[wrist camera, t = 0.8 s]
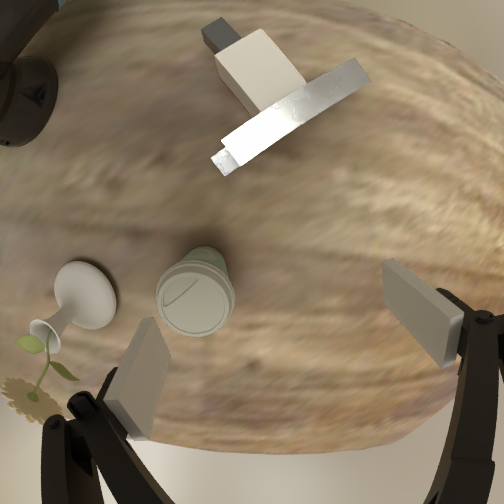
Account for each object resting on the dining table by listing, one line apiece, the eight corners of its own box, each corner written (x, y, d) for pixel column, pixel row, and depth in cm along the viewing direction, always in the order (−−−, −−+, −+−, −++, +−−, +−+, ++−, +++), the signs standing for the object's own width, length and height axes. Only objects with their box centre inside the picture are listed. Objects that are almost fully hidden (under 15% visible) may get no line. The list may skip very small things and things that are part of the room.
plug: (195, 48, 32) (185, 24, 24) (232, 25, 31) (231, -2, 23) (264, 133, 36) (271, 126, 28) (302, 109, 35) (317, 97, 27)
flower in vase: (49, 284, 40) (-46, 367, 16) (85, 242, 39) (-31, 323, 15) (100, 341, 44) (34, 450, 20) (141, 307, 42) (72, 433, 18)
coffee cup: (230, 231, 39) (227, 261, 28) (239, 290, 42) (240, 337, 30) (168, 240, 39) (142, 272, 28) (181, 297, 42) (163, 344, 30)
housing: (211, 158, 36) (199, 156, 26) (337, 75, 33) (370, 49, 23) (225, 176, 37) (219, 181, 26) (350, 92, 34) (387, 72, 23)
